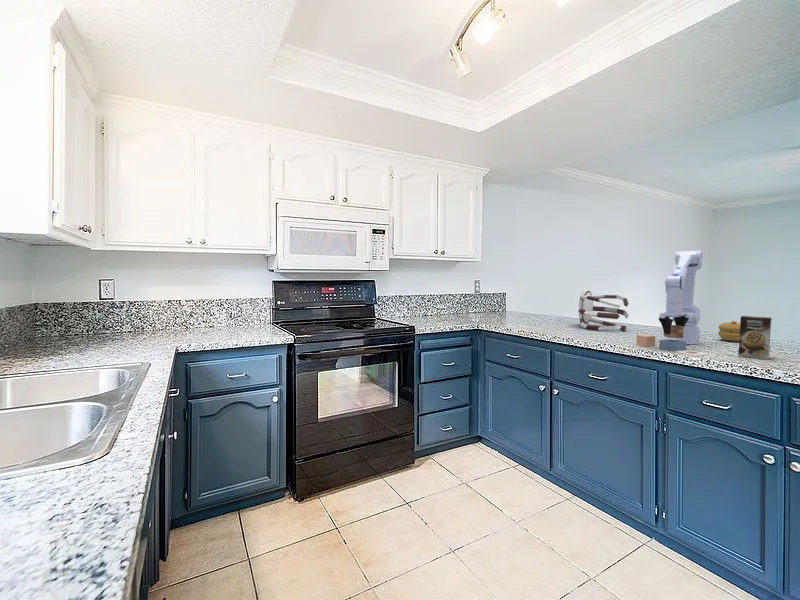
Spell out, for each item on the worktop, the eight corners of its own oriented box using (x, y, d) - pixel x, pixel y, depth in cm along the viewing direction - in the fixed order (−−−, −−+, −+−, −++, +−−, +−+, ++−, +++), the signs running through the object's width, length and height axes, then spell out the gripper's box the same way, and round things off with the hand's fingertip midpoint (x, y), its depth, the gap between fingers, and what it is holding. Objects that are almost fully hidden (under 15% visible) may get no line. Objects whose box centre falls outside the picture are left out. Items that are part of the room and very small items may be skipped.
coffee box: (737, 356, 160) (739, 316, 159) (739, 354, 165) (741, 315, 164) (768, 359, 154) (770, 318, 153) (769, 357, 158) (771, 316, 157)
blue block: (670, 347, 181) (670, 339, 181) (686, 350, 175) (686, 341, 175) (659, 349, 179) (659, 340, 179) (674, 351, 172) (674, 342, 172)
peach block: (644, 345, 188) (645, 334, 188) (654, 346, 183) (655, 336, 183) (636, 345, 187) (636, 335, 186) (646, 347, 182) (646, 336, 182)
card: (689, 351, 172) (689, 350, 172) (708, 354, 164) (708, 353, 164) (675, 352, 169) (675, 351, 169) (694, 356, 162) (694, 354, 162)
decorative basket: (596, 323, 267) (641, 334, 233) (562, 325, 259) (602, 337, 226) (599, 287, 263) (644, 293, 230) (564, 288, 256) (605, 294, 223)
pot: (735, 343, 189) (736, 322, 189) (711, 339, 201) (712, 320, 200) (755, 342, 192) (756, 322, 191) (730, 338, 203) (731, 319, 203)
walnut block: (675, 336, 179) (676, 325, 179) (683, 337, 174) (683, 326, 173) (663, 336, 179) (663, 325, 179) (670, 338, 174) (671, 326, 174)
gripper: (677, 301, 182) (676, 331, 183) (653, 302, 177) (652, 333, 178) (693, 302, 175) (691, 333, 176) (668, 303, 170) (667, 335, 171)
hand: (673, 333), depth 176 cm, fingers closed on walnut block, 7 cm apart
